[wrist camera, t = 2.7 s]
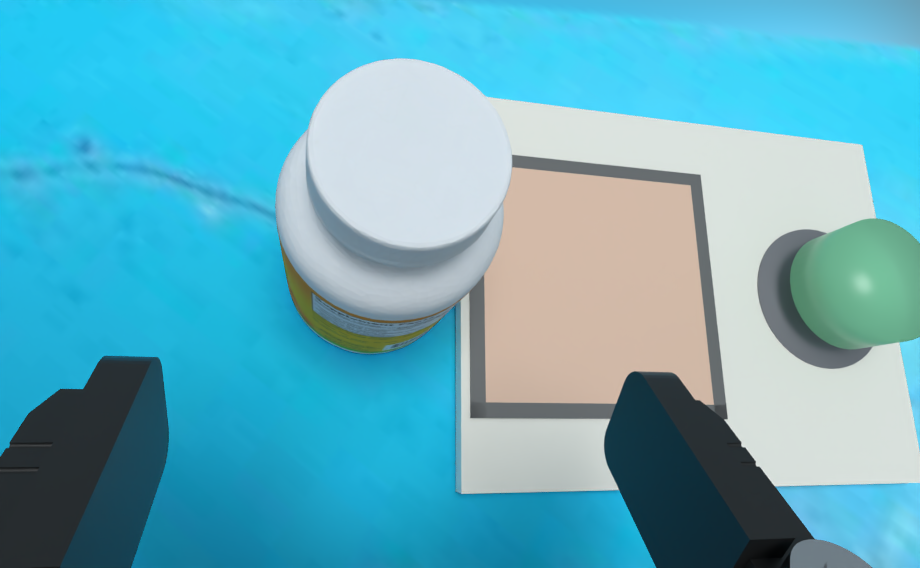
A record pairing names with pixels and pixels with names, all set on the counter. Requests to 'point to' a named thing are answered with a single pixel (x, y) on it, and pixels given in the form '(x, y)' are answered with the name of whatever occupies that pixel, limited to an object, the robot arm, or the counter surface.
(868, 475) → the white board
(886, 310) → the button
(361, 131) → the supplement bottle
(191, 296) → the counter surface
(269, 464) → the counter surface
